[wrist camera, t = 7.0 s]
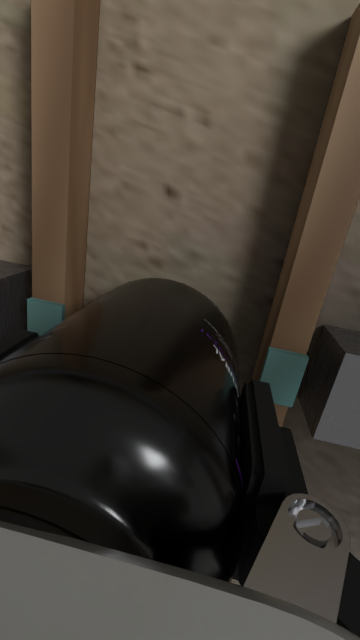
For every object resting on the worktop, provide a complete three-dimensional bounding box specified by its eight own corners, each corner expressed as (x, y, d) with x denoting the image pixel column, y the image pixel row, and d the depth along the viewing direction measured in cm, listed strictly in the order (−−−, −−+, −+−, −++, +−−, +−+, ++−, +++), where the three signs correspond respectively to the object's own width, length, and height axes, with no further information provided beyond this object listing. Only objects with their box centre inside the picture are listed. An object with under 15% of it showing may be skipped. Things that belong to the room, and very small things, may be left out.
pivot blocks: (392, 338, 14) (430, 370, 12) (360, 411, 16) (387, 456, 13) (-20, 256, 16) (-73, 266, 13) (-16, 328, 18) (-62, 352, 15)
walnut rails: (398, 20, 11) (439, -25, 9) (227, 558, 21) (226, 599, 18) (61, -19, 12) (23, -68, 10) (49, 510, 22) (29, 544, 19)
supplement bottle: (272, 346, 13) (478, 1036, 2) (171, 439, 16) (28, 1001, 5) (145, 237, 13) (-473, 461, 2) (59, 351, 15) (-435, 768, 4)
